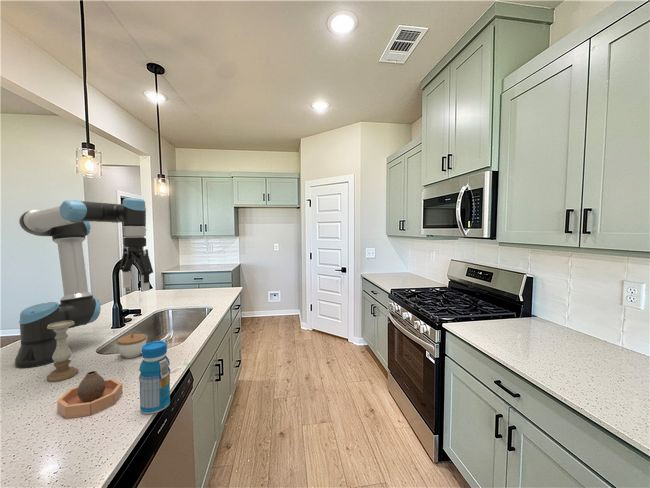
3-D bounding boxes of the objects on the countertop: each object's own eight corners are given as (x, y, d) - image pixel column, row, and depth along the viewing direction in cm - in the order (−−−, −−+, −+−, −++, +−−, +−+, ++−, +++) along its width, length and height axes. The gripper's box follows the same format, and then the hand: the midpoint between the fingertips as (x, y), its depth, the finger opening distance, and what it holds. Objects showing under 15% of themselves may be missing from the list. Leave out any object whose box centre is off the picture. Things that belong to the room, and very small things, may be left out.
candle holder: (39, 381, 103) (37, 327, 102) (62, 370, 112) (61, 319, 111) (62, 382, 103) (60, 327, 102) (84, 370, 111) (82, 320, 110)
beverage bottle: (140, 419, 83) (139, 352, 82) (138, 404, 90) (137, 343, 89) (172, 408, 88) (171, 346, 87) (168, 395, 95) (167, 337, 94)
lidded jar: (132, 361, 119) (131, 339, 119) (111, 359, 122) (110, 337, 121) (152, 351, 130) (152, 331, 129) (132, 349, 132) (132, 329, 132)
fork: (142, 388, 101) (142, 383, 101) (186, 362, 120) (186, 358, 120) (149, 389, 100) (149, 384, 100) (192, 363, 119) (192, 359, 119)
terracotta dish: (51, 407, 88) (51, 396, 88) (107, 384, 101) (107, 375, 101) (72, 423, 81) (71, 411, 81) (129, 397, 94) (129, 387, 94)
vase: (82, 408, 86) (82, 380, 86) (74, 400, 90) (73, 374, 90) (109, 397, 92) (108, 371, 92) (100, 390, 96) (99, 365, 96)
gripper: (162, 237, 111) (163, 290, 112) (128, 236, 123) (129, 284, 124) (142, 237, 105) (143, 294, 106) (109, 236, 117) (110, 287, 118)
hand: (136, 289), depth 115 cm, fingers open, 13 cm apart
